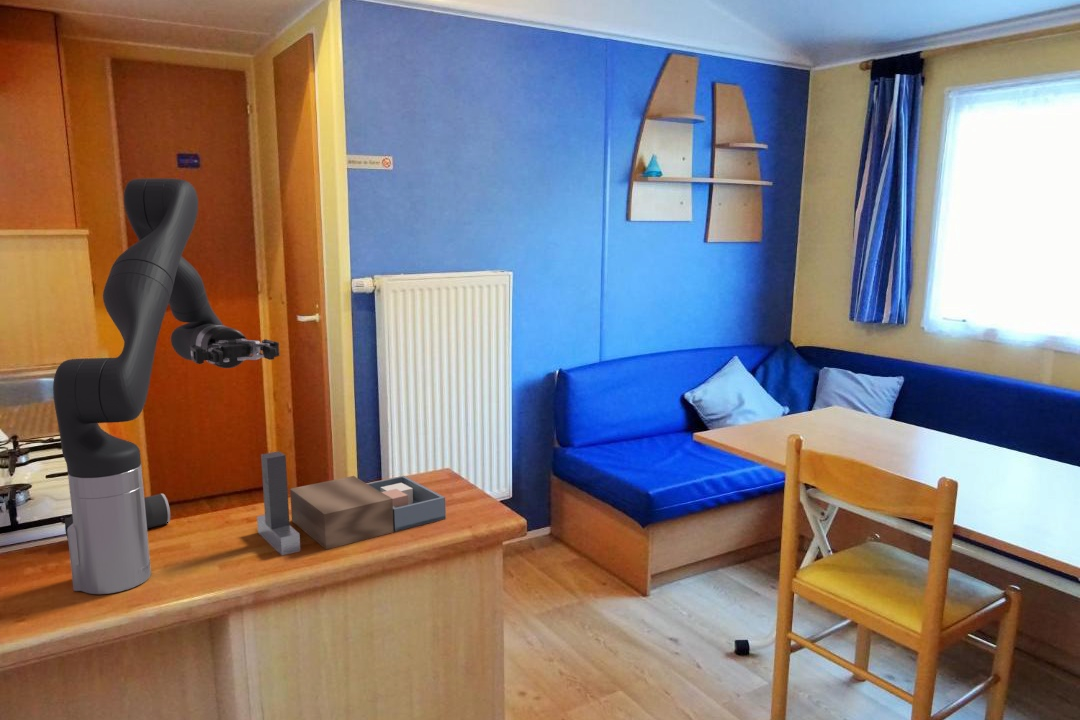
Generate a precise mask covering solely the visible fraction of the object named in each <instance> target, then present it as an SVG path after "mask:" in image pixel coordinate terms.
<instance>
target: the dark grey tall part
mask: <svg viewBox="0 0 1080 720" xmlns="http://www.w3.org/2000/svg"><path fill="white" fill-rule="evenodd" d="M260 458H261V471H262V472H261V473H262V477H261V478H262V488H263V489H262V490H263V491H262V492H263V504H264V514H262V515H258V516H256V521H257V524H256V525H257V533H258V534H259V536H261V537H262V538H263V540H265V541H266V542H267V543H268V544H269V545H270V546H271V547H272V548H273V549H275V551H276V552H277V553H279V554H280V555H281V556H285V555H290V554H293V553H294V554H295V553H298V552H301V538H300V537H301V536H300V535H301V534H300V532H298V531H297V530H296V529H295V528H294V527H293V526H292V525H291V524H290V510H289V508H290V506H289V493H288V491H289V488H288V474H287V455H286V454H284V453H283V452H281V451H273V452H267V453H261V454H260Z"/></svg>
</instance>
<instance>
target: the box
mask: <svg viewBox="0 0 1080 720" xmlns="http://www.w3.org/2000/svg"><path fill="white" fill-rule="evenodd" d="M398 483H403V484H405V485H407V486H409V487H411V488H413V504H410V505H406V506H402V507H397V508H395V507H394V506H393V531H394V532H399V531H403V530H404V531H405V530H407V529H412V528H415V527H419V526H422V525H427V524H430V523H434V522H438V521H439V522H440V521H442V520H445V519H447V517H446V516H447V515H446V497H445V496H443V495H441V494H439V493H438V492H436V491H433V490H431V488H428V487H426V486H424V485H422V484H421V483H418V482H417V481H415V480H413V479H411V478H409V477H407V476H405V475H401V476H395V477H391V478H386V479H381V480H377V481H373V482H372V481H371V482H367V484H368V485H370V486H372V487H373V488H375V489H377V490H378V491H380V492H381V487H384V486H389V485H393V484H398Z"/></svg>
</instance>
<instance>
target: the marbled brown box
mask: <svg viewBox="0 0 1080 720" xmlns="http://www.w3.org/2000/svg"><path fill="white" fill-rule="evenodd" d="M367 483H368V482H367ZM367 483H366V482H365V481H363V480H361V479H360V478H358V477H356V476H354V475H352V476H351V475H350V476H346V477H342V478H341V477H340V478H336V479H332V480H326V481H322V482H318V483H312V484H307V485H302V486H297V487H293V488H290V489H289V494H290V497H289V498H290V510H291V512H290V513H291V514H290V515H291V522H292V523H293V524H295V525H296V526H297V527H298V528H300V529H301V530H302V531H303V532H304V533H305V534H307V535H308V536H309V537H310V538H312V539H313V540H314V541H316V543H317V544H319V545H320V546H321V547H323V548H324V549H325V550H329V549H333V548H338V547H342V546H346V545H349V544H353V543H357V542H362V541H365V540H369V539H373V538H378V537H380V536H384V535H388V534H392V533H394V532H395V531H393V503H392V498H390V497H389V496H387V495H385V494H383V493H382V492H380V491H378V490H377V489H375V488H373V487H372V486H370V485H368V484H367Z"/></svg>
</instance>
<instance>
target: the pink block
mask: <svg viewBox="0 0 1080 720" xmlns="http://www.w3.org/2000/svg"><path fill="white" fill-rule="evenodd" d="M382 493H383V494H385V495H387V496H389V497H390V498H392V503H393V506H394V507H395V508H397V507H402V506H406V505H408V495H407V494H405V493H403V492H401V491H399V490H398V489H393V490H389V491H384V492H382Z"/></svg>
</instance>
